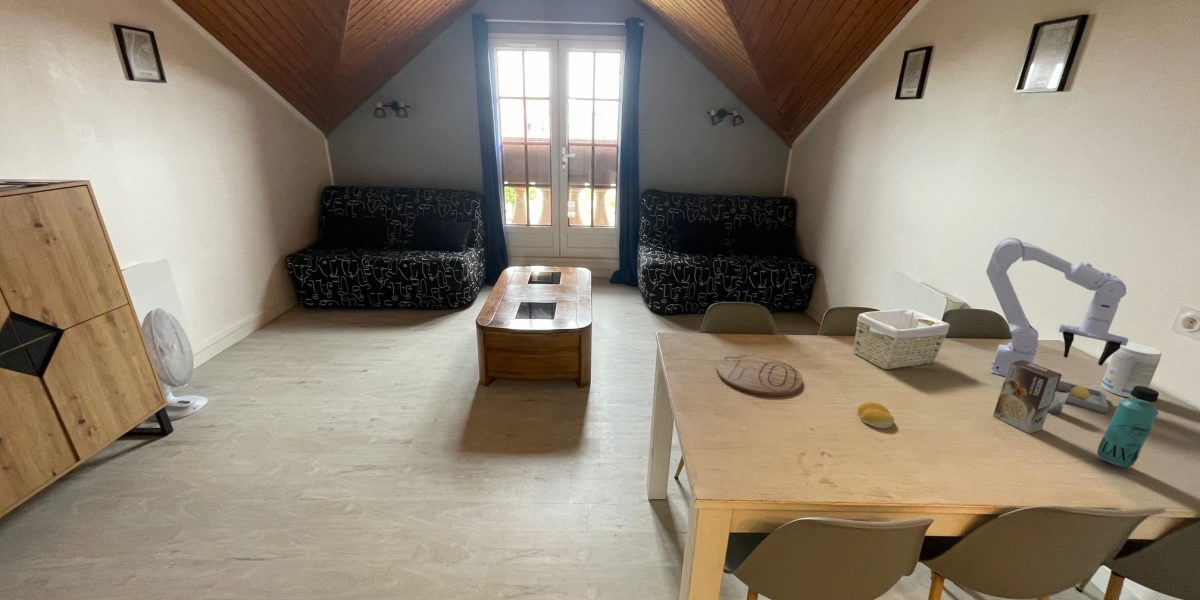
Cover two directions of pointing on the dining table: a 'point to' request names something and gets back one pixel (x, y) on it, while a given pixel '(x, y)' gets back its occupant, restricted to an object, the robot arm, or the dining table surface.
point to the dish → (1089, 400)
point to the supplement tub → (1130, 368)
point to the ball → (1080, 392)
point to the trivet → (759, 375)
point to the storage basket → (898, 338)
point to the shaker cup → (1059, 398)
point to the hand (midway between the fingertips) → (1082, 360)
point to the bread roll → (875, 415)
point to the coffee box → (1026, 395)
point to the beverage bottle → (1129, 427)
